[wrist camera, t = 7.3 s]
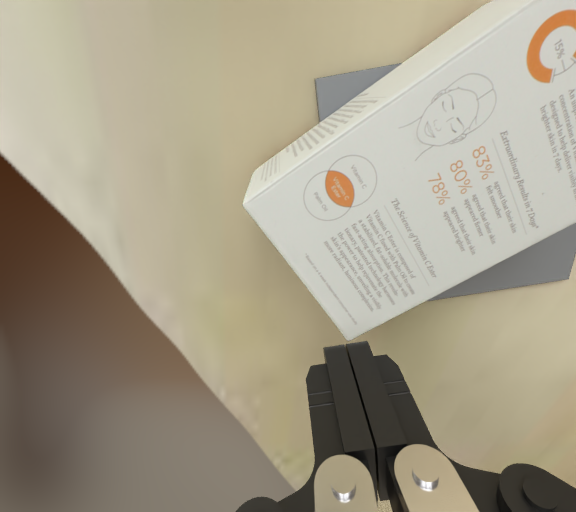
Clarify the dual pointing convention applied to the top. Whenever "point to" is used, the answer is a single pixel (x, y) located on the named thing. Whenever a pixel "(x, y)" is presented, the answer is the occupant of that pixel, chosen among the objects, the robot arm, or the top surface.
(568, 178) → the small box
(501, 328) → the top surface
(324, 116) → the mat
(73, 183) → the top surface
